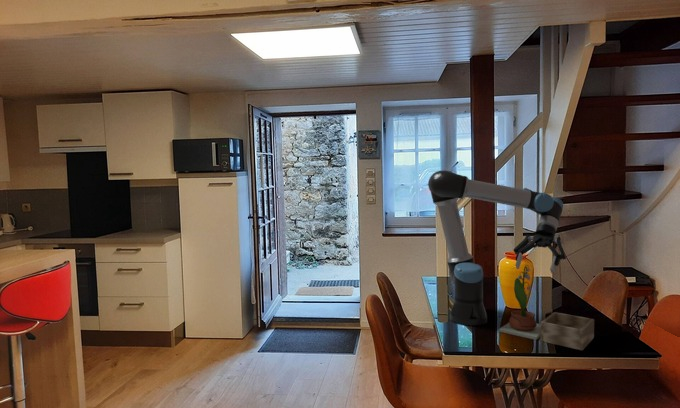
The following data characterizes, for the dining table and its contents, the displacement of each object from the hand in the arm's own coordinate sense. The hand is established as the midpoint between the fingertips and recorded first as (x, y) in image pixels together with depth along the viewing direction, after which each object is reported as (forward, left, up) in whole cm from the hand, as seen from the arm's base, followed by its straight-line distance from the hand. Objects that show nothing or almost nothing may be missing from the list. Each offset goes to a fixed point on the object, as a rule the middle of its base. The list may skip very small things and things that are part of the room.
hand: (533, 269), depth 178 cm
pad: (0, -8, -23) cm, 24 cm away
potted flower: (-1, -8, -22) cm, 24 cm away
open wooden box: (+15, -8, -23) cm, 29 cm away
